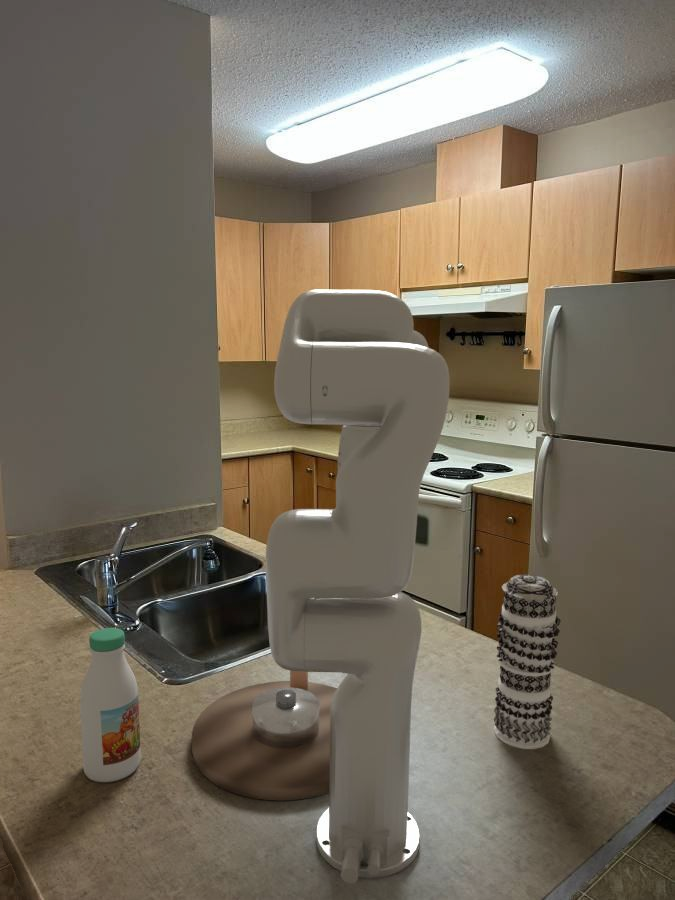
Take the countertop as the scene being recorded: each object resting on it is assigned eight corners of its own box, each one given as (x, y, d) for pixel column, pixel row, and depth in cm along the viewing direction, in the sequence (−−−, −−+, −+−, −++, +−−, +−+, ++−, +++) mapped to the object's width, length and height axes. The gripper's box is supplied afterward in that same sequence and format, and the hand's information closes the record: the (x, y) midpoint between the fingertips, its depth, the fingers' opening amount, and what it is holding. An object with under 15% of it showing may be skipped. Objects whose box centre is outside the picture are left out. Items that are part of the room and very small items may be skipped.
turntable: (417, 748, 99) (418, 711, 98) (255, 831, 82) (255, 786, 81) (306, 675, 121) (306, 644, 120) (160, 728, 104) (159, 692, 103)
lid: (332, 732, 100) (332, 698, 99) (275, 756, 94) (275, 720, 93) (294, 704, 107) (294, 672, 107) (240, 724, 101) (240, 691, 101)
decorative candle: (555, 755, 98) (566, 593, 95) (491, 745, 101) (499, 587, 97) (550, 721, 107) (560, 572, 103) (491, 714, 109) (499, 567, 106)
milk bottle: (80, 788, 90) (73, 648, 87) (86, 755, 97) (79, 624, 94) (140, 779, 92) (135, 642, 89) (141, 747, 99) (136, 619, 96)
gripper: (417, 420, 110) (414, 528, 113) (345, 414, 119) (344, 514, 122) (392, 424, 104) (389, 537, 107) (319, 417, 113) (318, 522, 116)
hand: (365, 524), depth 114 cm, fingers closed
